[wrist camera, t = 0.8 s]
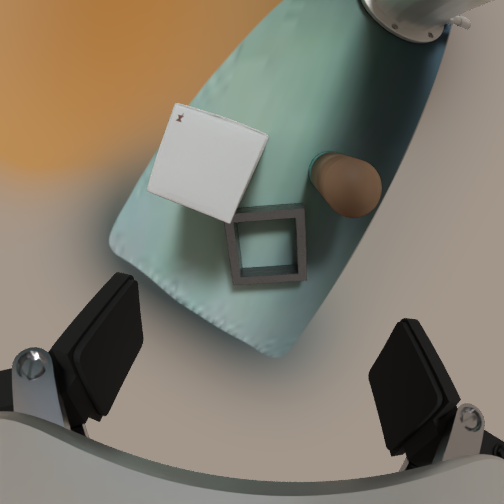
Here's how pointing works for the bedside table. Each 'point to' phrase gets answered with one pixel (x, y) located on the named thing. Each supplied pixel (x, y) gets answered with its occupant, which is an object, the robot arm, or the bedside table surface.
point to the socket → (270, 272)
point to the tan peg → (346, 183)
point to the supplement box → (206, 161)
